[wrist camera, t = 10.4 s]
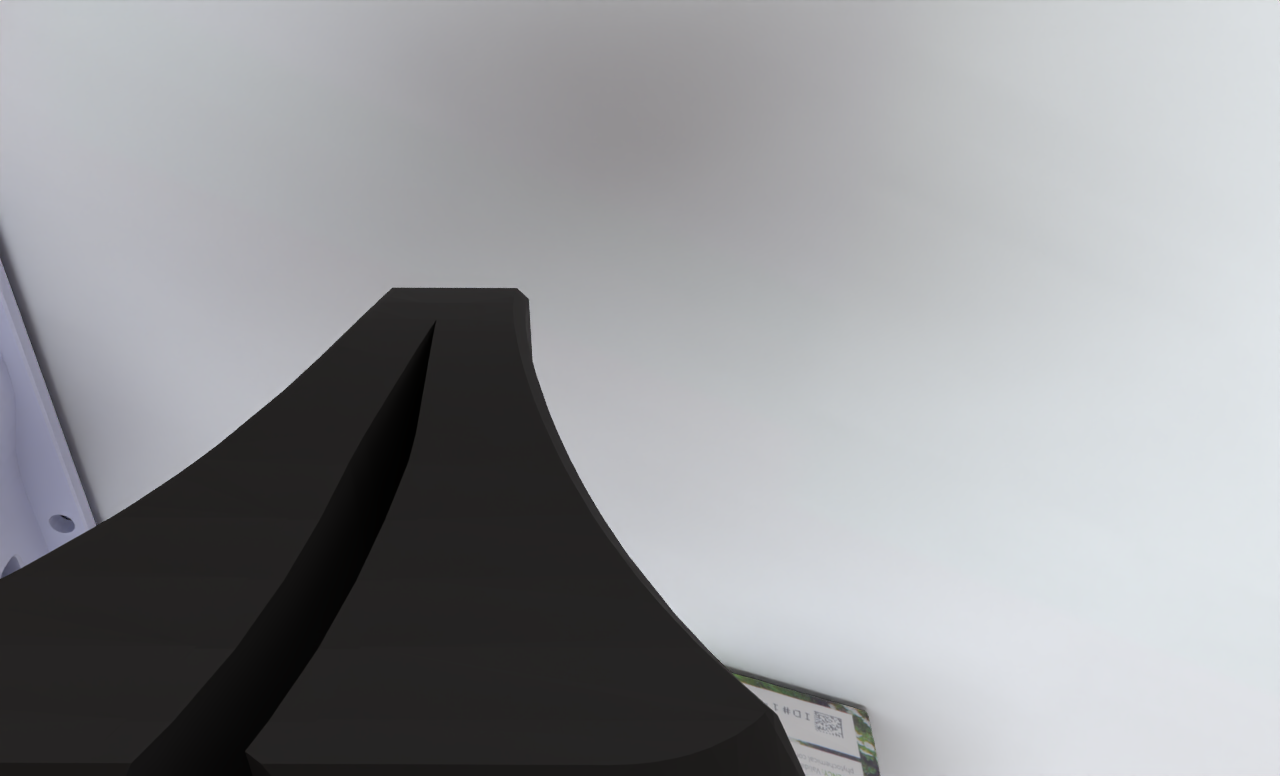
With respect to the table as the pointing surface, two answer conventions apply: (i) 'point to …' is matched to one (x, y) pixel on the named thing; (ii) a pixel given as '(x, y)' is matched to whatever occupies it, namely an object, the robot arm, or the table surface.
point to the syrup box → (821, 731)
